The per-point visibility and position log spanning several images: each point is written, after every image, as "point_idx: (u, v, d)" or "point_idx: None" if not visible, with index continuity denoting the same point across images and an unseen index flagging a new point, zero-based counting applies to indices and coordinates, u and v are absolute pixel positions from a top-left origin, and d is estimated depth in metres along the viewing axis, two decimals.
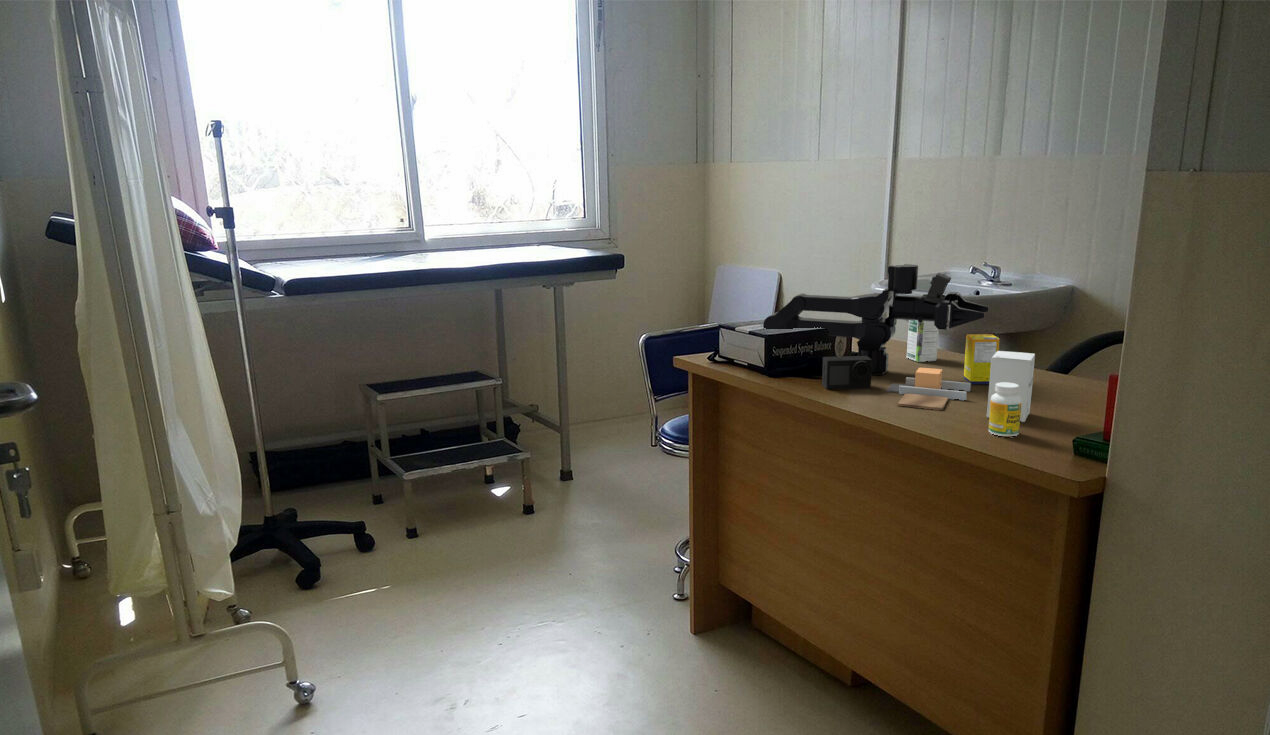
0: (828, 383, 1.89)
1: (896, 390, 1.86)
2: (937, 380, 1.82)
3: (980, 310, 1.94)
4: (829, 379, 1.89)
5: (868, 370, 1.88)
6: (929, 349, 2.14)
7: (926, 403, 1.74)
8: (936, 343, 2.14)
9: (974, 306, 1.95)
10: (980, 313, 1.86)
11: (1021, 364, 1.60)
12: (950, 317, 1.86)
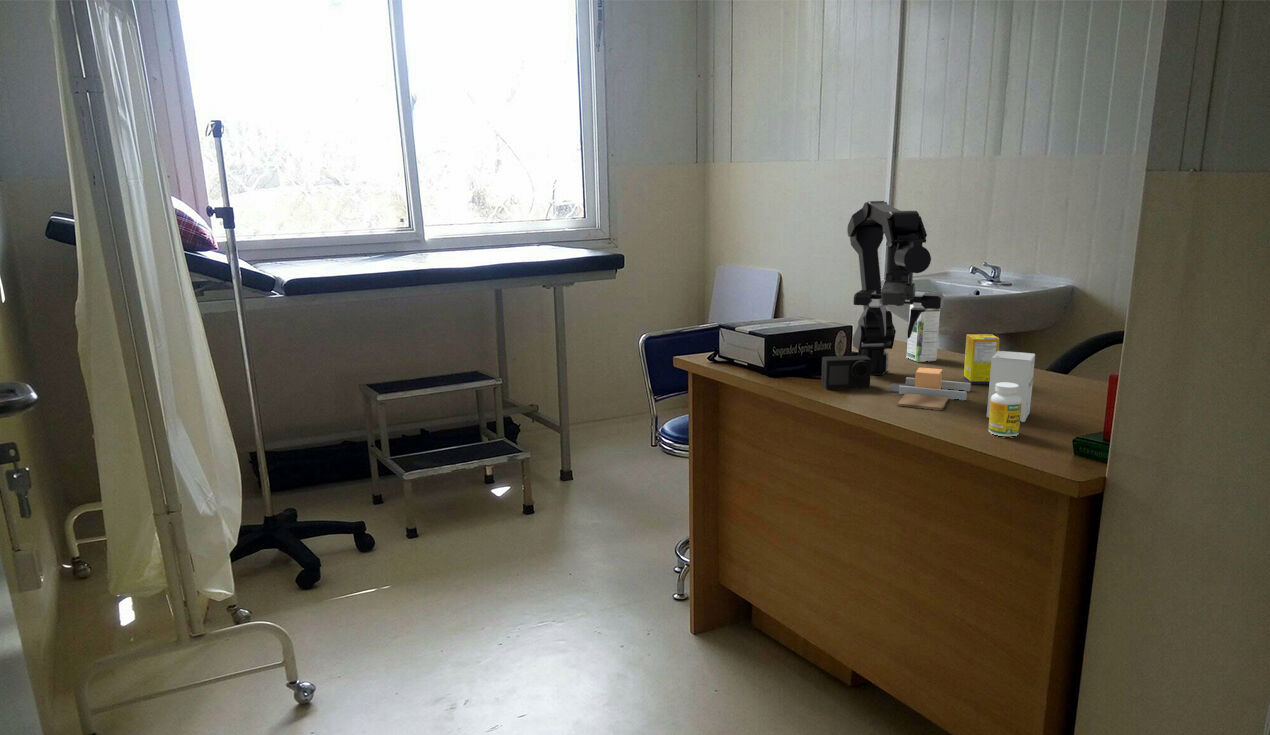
0: (827, 383, 1.90)
1: (896, 390, 1.86)
2: (937, 380, 1.82)
3: None
4: (829, 379, 1.89)
5: (867, 370, 1.88)
6: (929, 349, 2.14)
7: (926, 403, 1.74)
8: (936, 343, 2.14)
9: None
10: (881, 333, 1.87)
11: (1021, 364, 1.60)
12: None
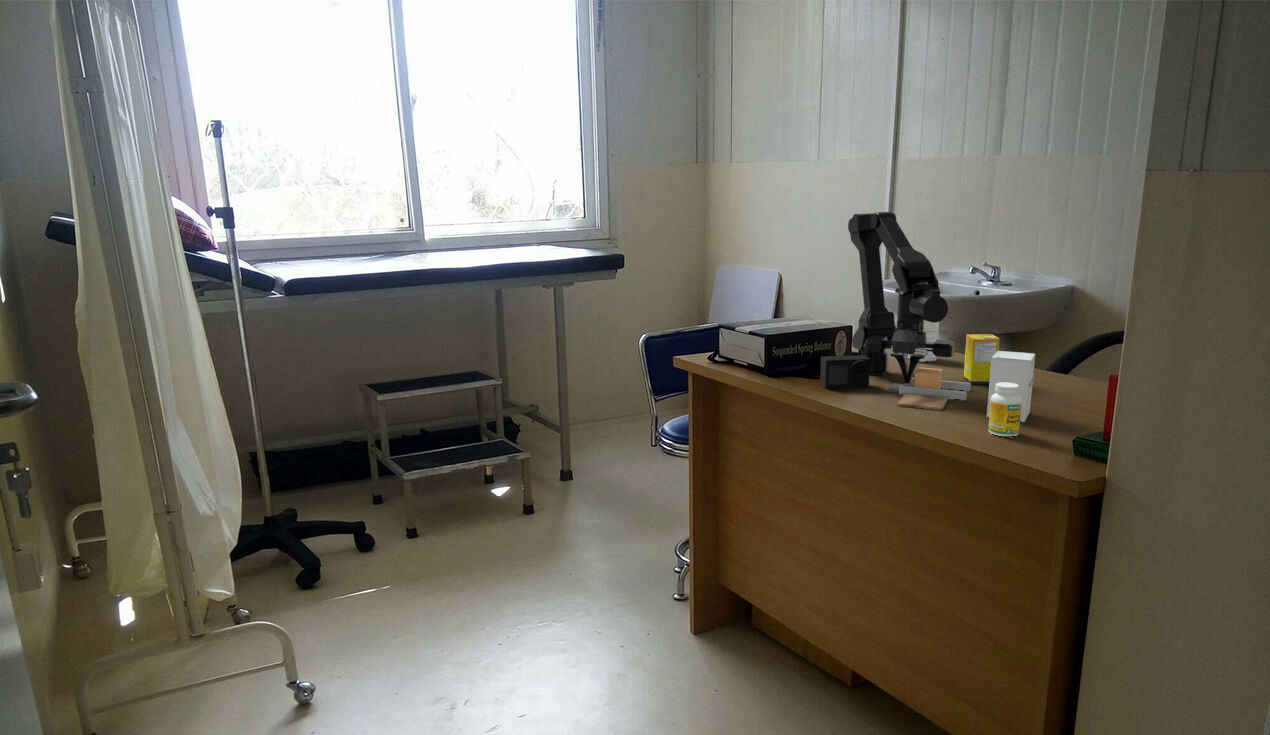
0: (827, 383, 1.90)
1: (896, 390, 1.86)
2: (937, 380, 1.82)
3: None
4: (828, 378, 1.90)
5: (866, 369, 1.89)
6: None
7: (926, 403, 1.74)
8: None
9: None
10: (904, 379, 1.87)
11: (1021, 364, 1.60)
12: None
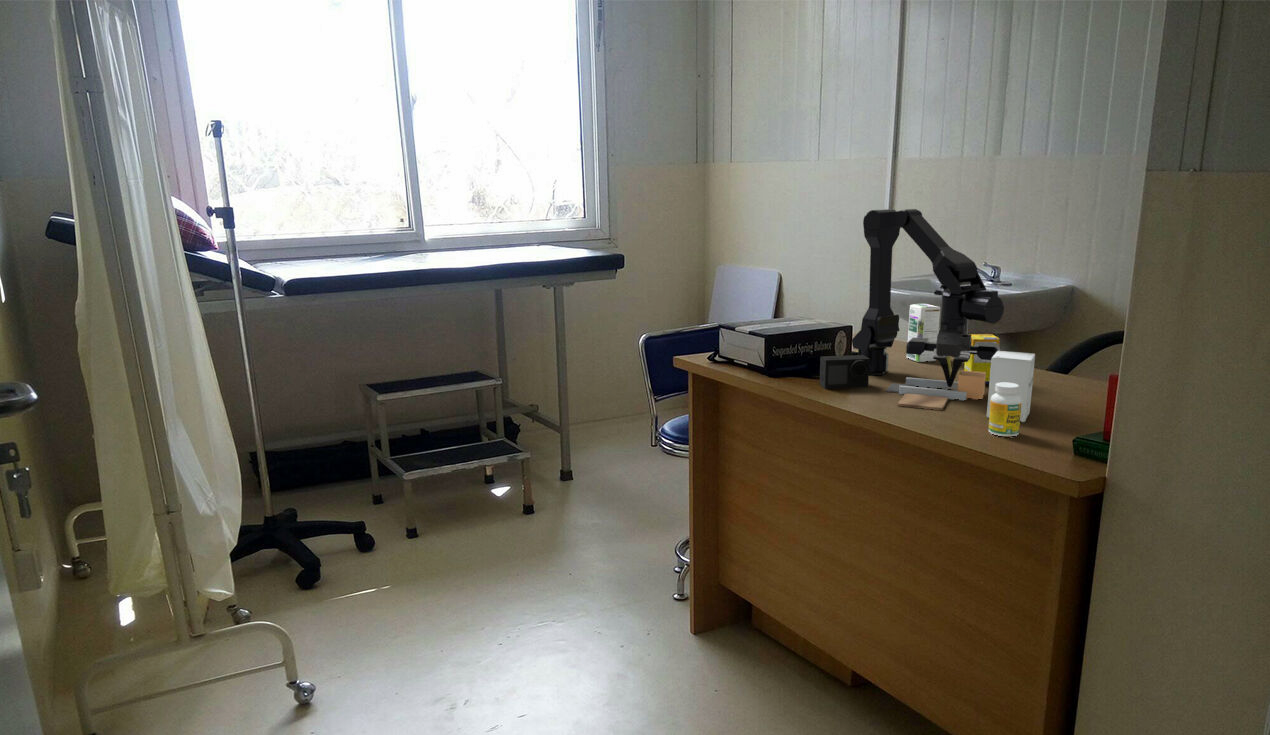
0: (826, 382, 1.90)
1: (896, 390, 1.86)
2: (981, 383, 1.78)
3: None
4: (828, 378, 1.90)
5: (866, 369, 1.89)
6: None
7: (926, 403, 1.74)
8: None
9: None
10: (947, 383, 1.83)
11: (1021, 364, 1.60)
12: None
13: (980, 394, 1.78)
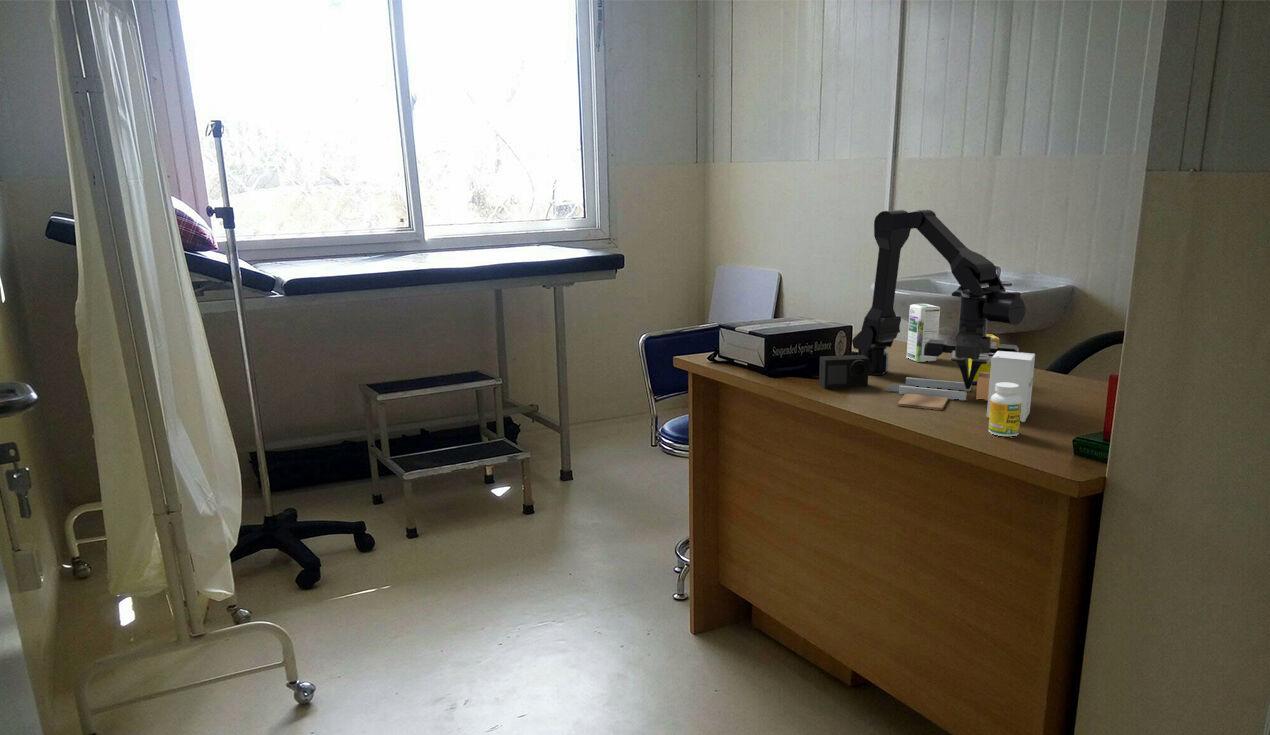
0: (826, 382, 1.90)
1: (896, 390, 1.86)
2: None
3: None
4: (827, 378, 1.90)
5: (865, 369, 1.89)
6: None
7: (926, 403, 1.74)
8: None
9: (970, 375, 1.81)
10: (965, 385, 1.81)
11: (1021, 364, 1.60)
12: None
13: None
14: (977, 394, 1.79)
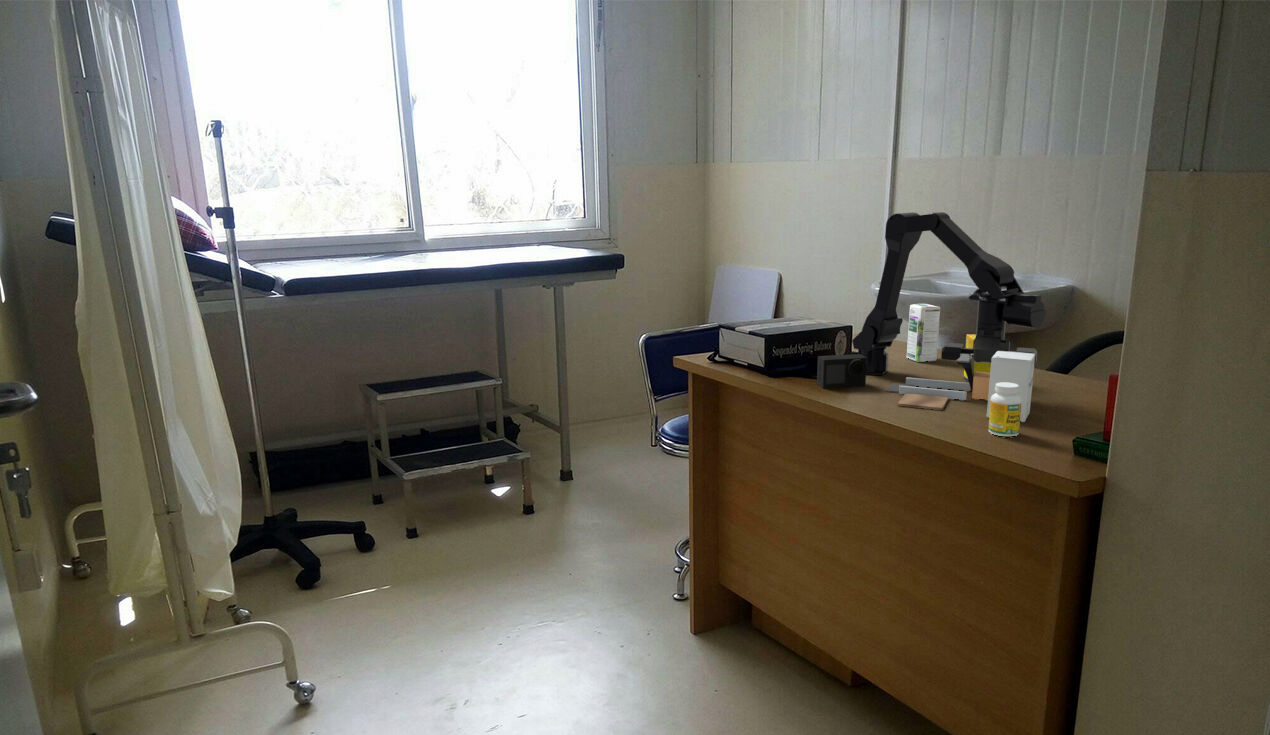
0: (825, 382, 1.90)
1: (896, 390, 1.86)
2: None
3: None
4: (826, 378, 1.90)
5: (863, 368, 1.90)
6: (929, 349, 2.14)
7: (926, 403, 1.74)
8: (936, 343, 2.14)
9: None
10: None
11: (1021, 364, 1.60)
12: None
13: None
14: (973, 394, 1.79)
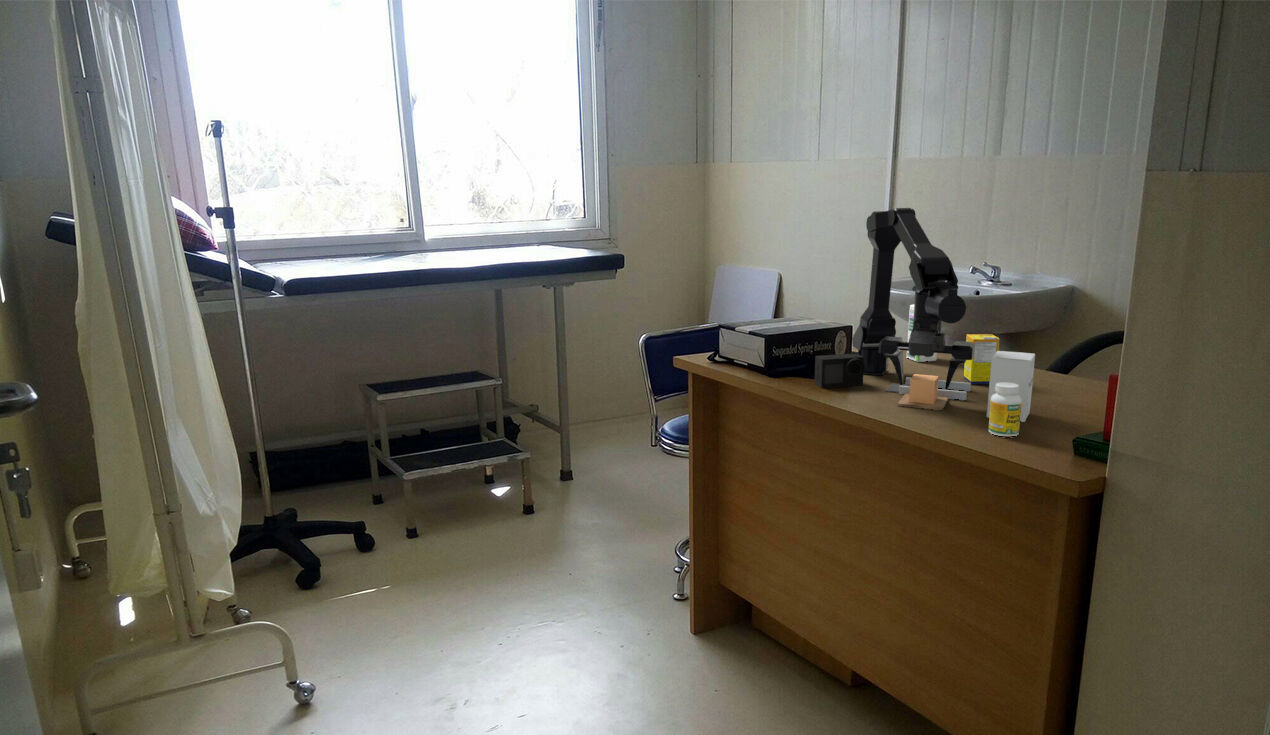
0: (823, 382, 1.91)
1: (896, 390, 1.86)
2: (933, 387, 1.73)
3: None
4: (824, 377, 1.91)
5: (861, 367, 1.90)
6: None
7: None
8: None
9: None
10: (899, 381, 1.78)
11: (1021, 364, 1.60)
12: None
13: (932, 398, 1.74)
14: (910, 396, 1.76)
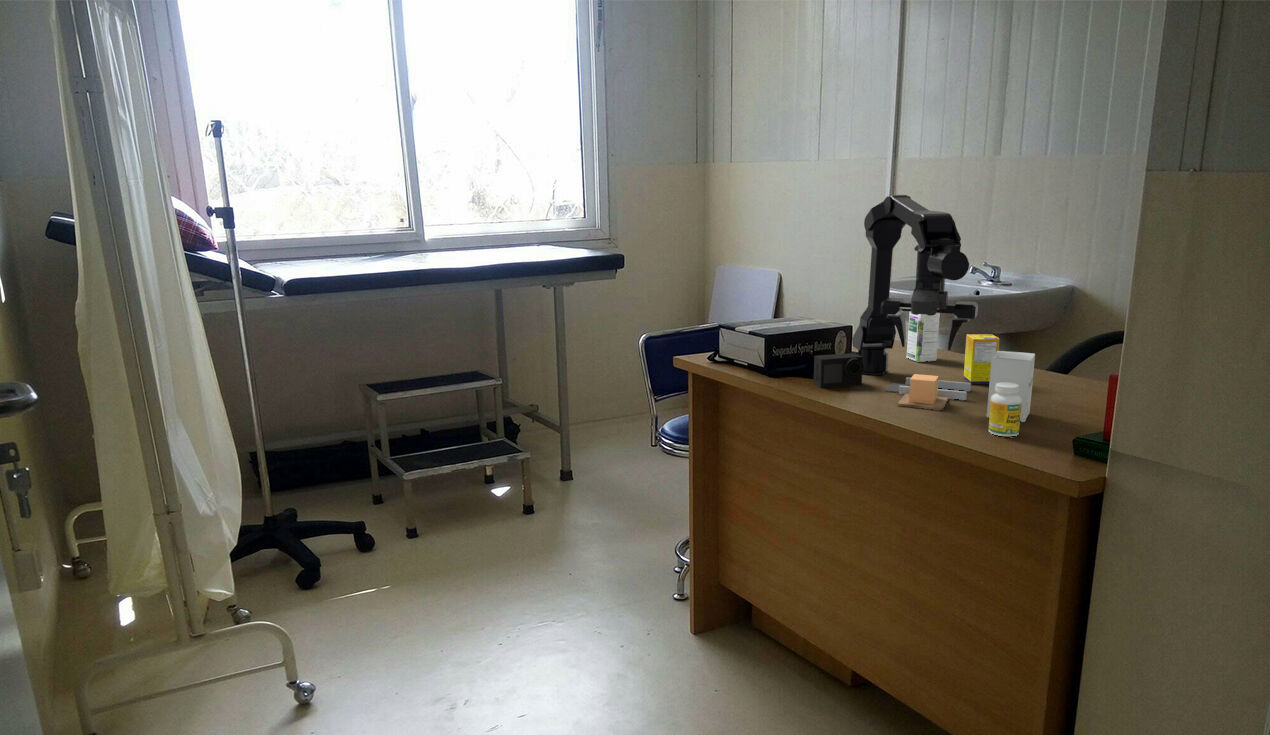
0: (822, 381, 1.91)
1: (896, 390, 1.86)
2: (933, 387, 1.73)
3: None
4: (823, 377, 1.91)
5: (860, 367, 1.91)
6: (929, 349, 2.14)
7: None
8: (936, 343, 2.14)
9: None
10: None
11: (1021, 364, 1.60)
12: None
13: (932, 398, 1.74)
14: (910, 396, 1.76)
